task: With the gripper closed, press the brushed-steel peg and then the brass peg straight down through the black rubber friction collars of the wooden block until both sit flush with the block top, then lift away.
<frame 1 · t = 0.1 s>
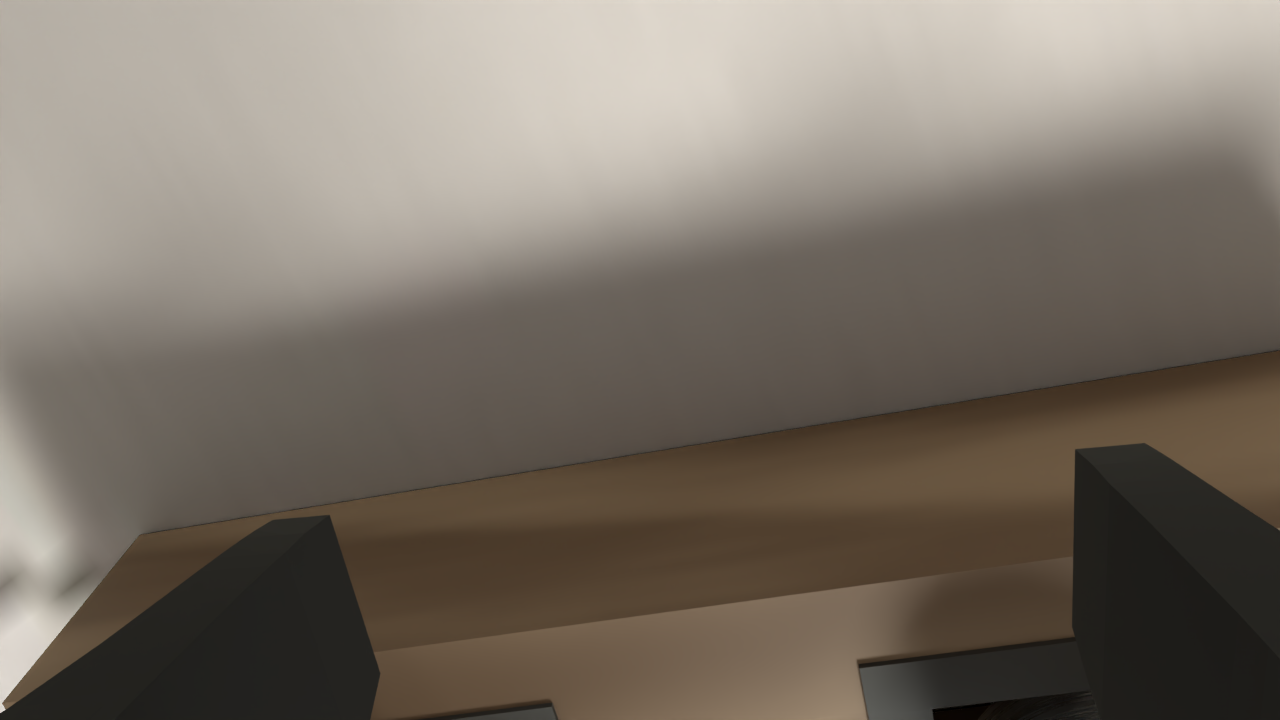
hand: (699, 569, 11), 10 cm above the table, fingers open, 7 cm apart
wooden block: (741, 644, 24), on the table
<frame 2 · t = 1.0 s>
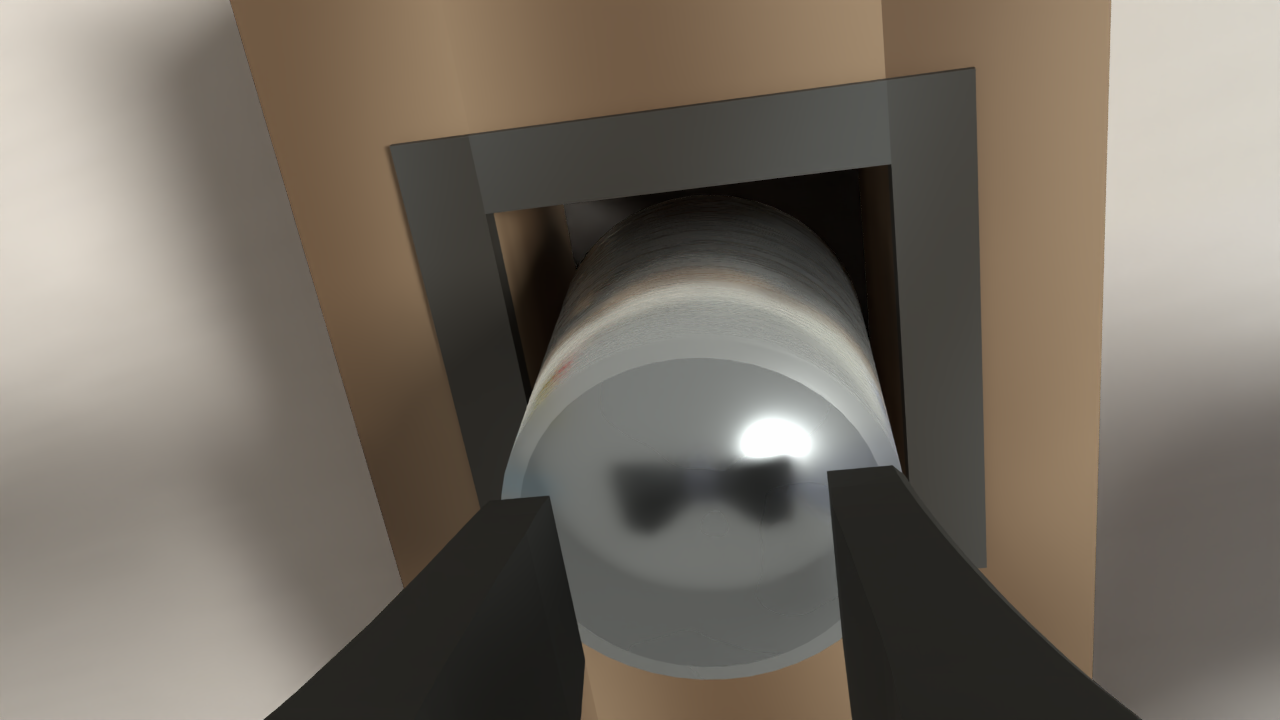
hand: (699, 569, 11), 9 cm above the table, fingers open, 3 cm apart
steel peg: (706, 418, 14), point 6 cm above the table, slide at 3.5 cm
wooden block: (752, 528, 22), on the table
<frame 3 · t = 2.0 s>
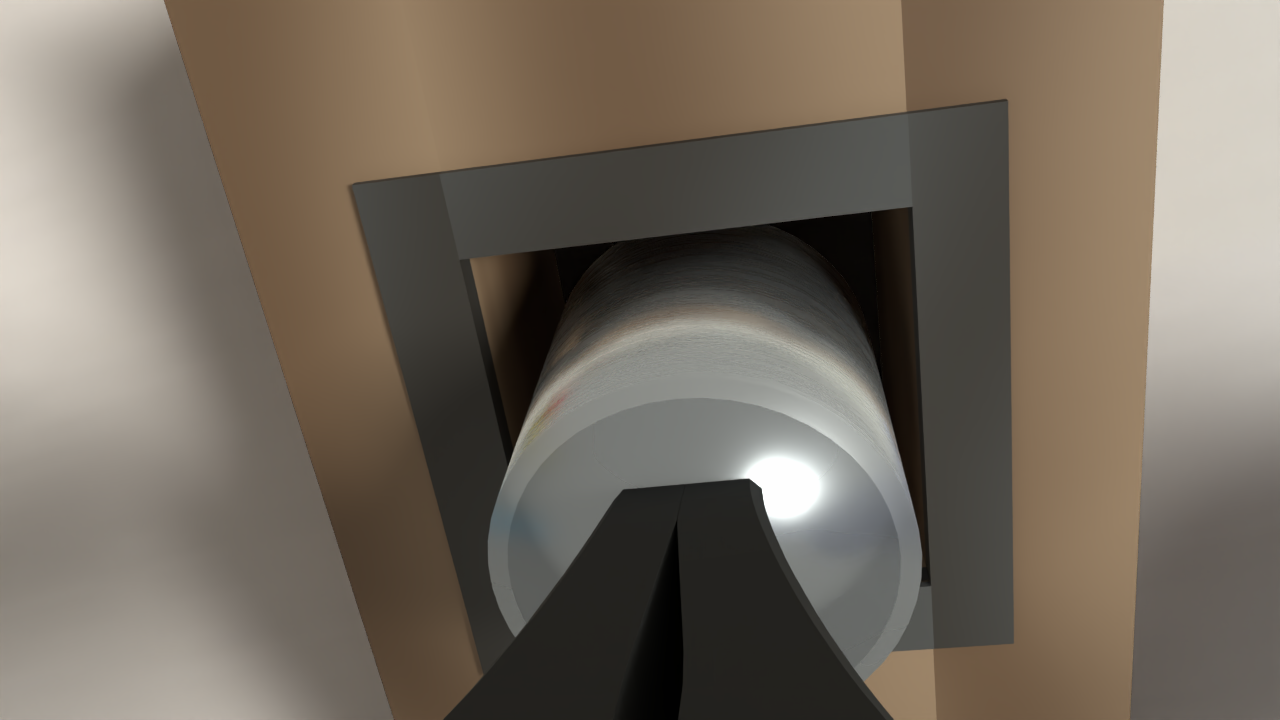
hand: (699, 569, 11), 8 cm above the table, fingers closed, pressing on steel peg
steel peg: (707, 452, 13), point 6 cm above the table, slide at 2.7 cm, touching gripper
wooden block: (755, 578, 20), on the table
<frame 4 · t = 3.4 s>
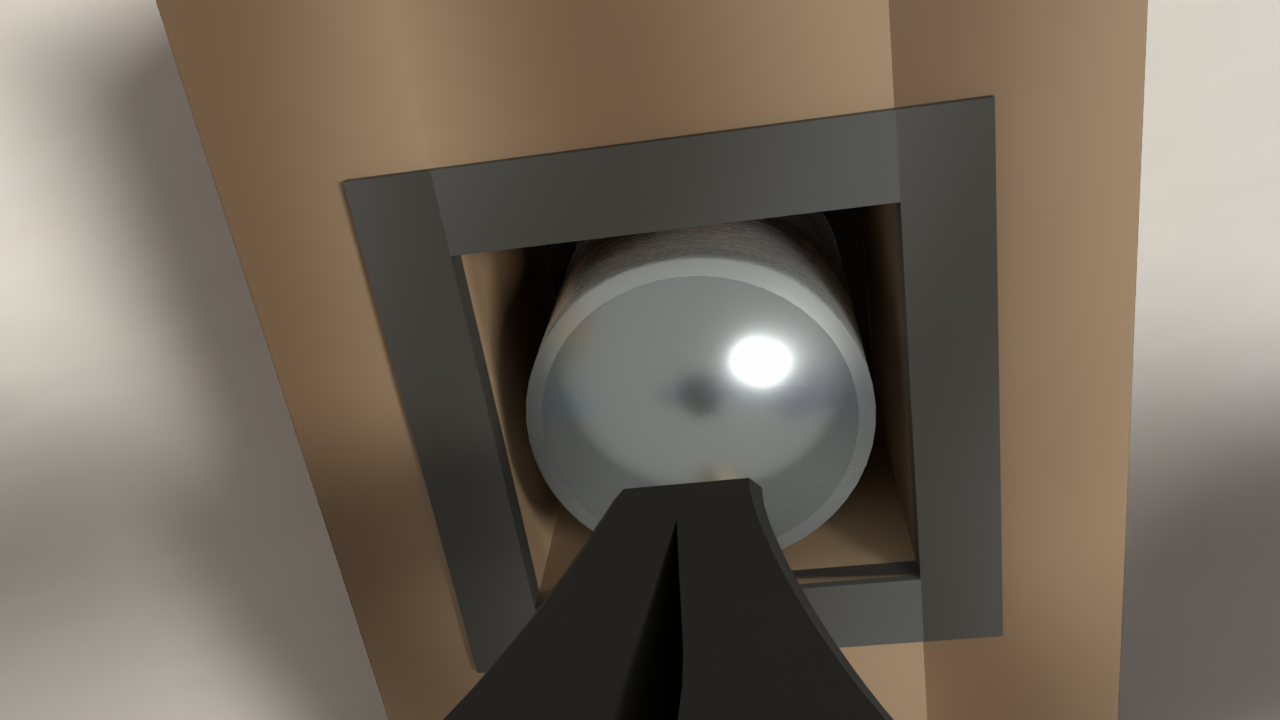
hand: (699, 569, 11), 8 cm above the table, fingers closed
steel peg: (702, 343, 16), point 3 cm above the table, slide at -0.1 cm
wooden block: (746, 573, 21), on the table
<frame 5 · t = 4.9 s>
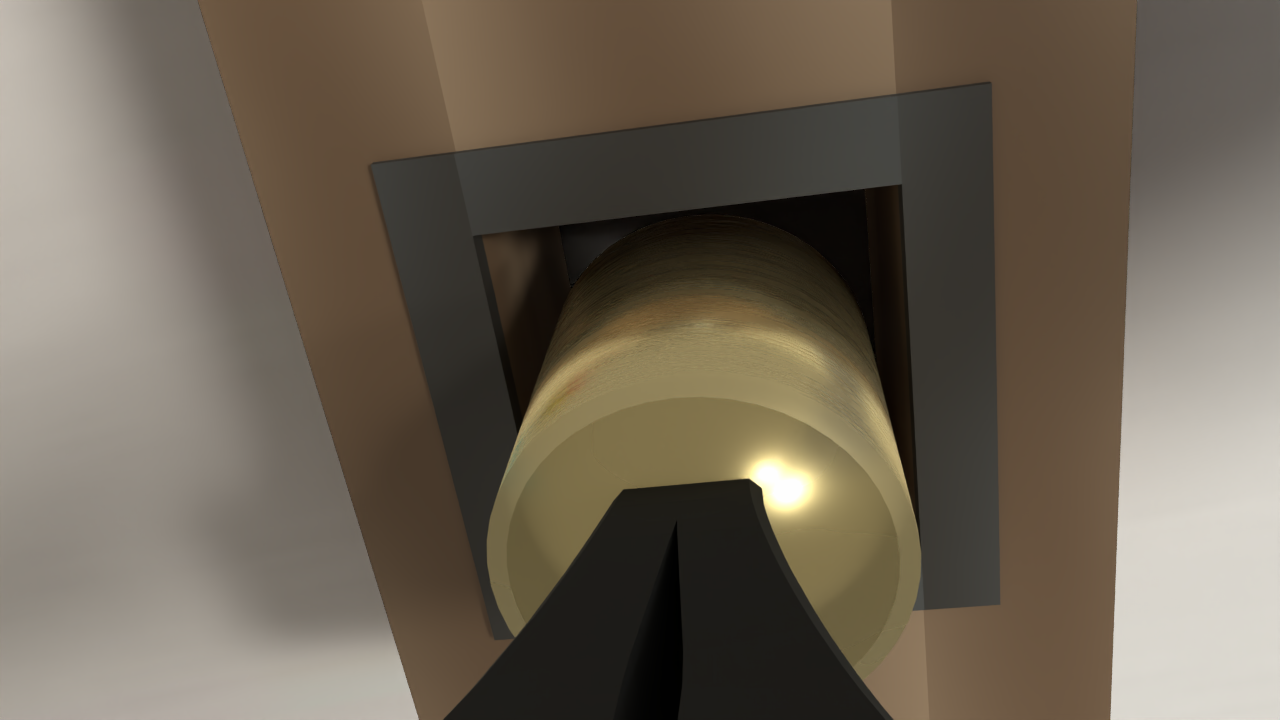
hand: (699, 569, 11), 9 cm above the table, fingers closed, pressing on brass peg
brass peg: (706, 451, 13), point 6 cm above the table, slide at 3.5 cm, touching gripper
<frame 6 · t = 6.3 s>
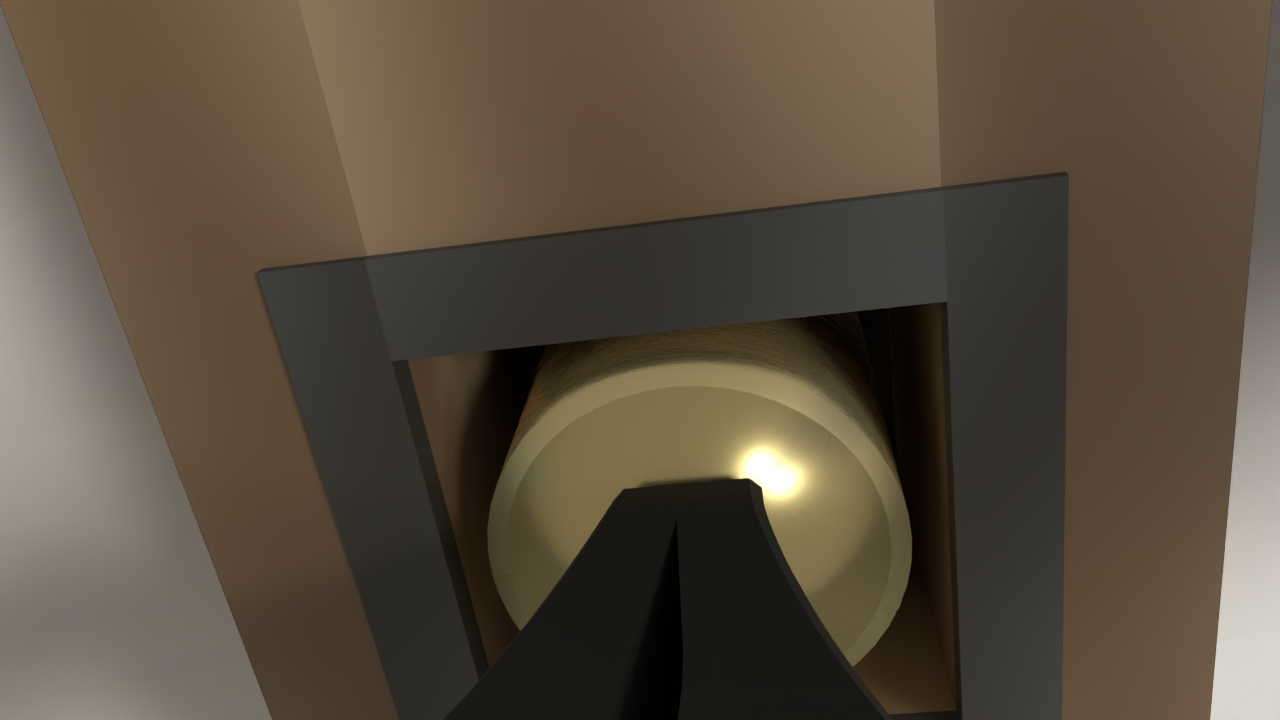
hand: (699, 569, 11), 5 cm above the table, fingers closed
brass peg: (702, 442, 13), point 3 cm above the table, slide at -0.1 cm
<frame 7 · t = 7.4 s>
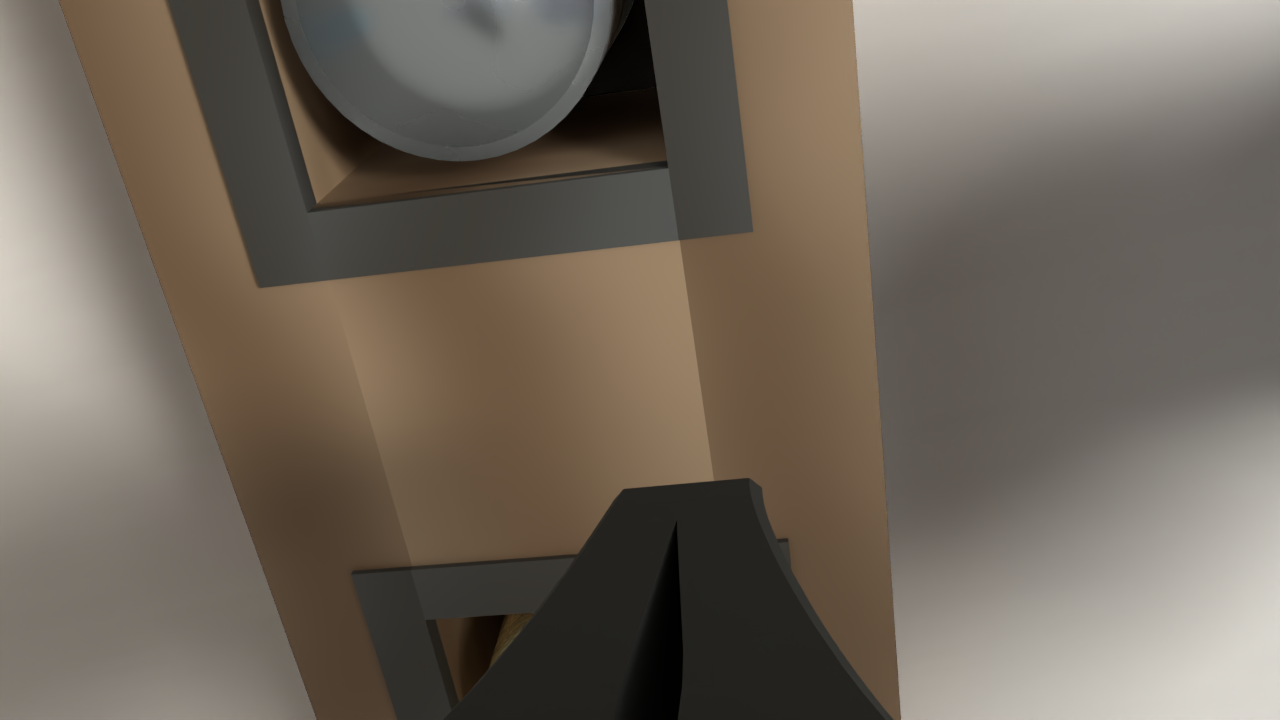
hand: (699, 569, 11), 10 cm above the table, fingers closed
wooden block: (579, 287, 21), on the table
brass peg: (614, 636, 21), point 3 cm above the table, slide at -0.1 cm
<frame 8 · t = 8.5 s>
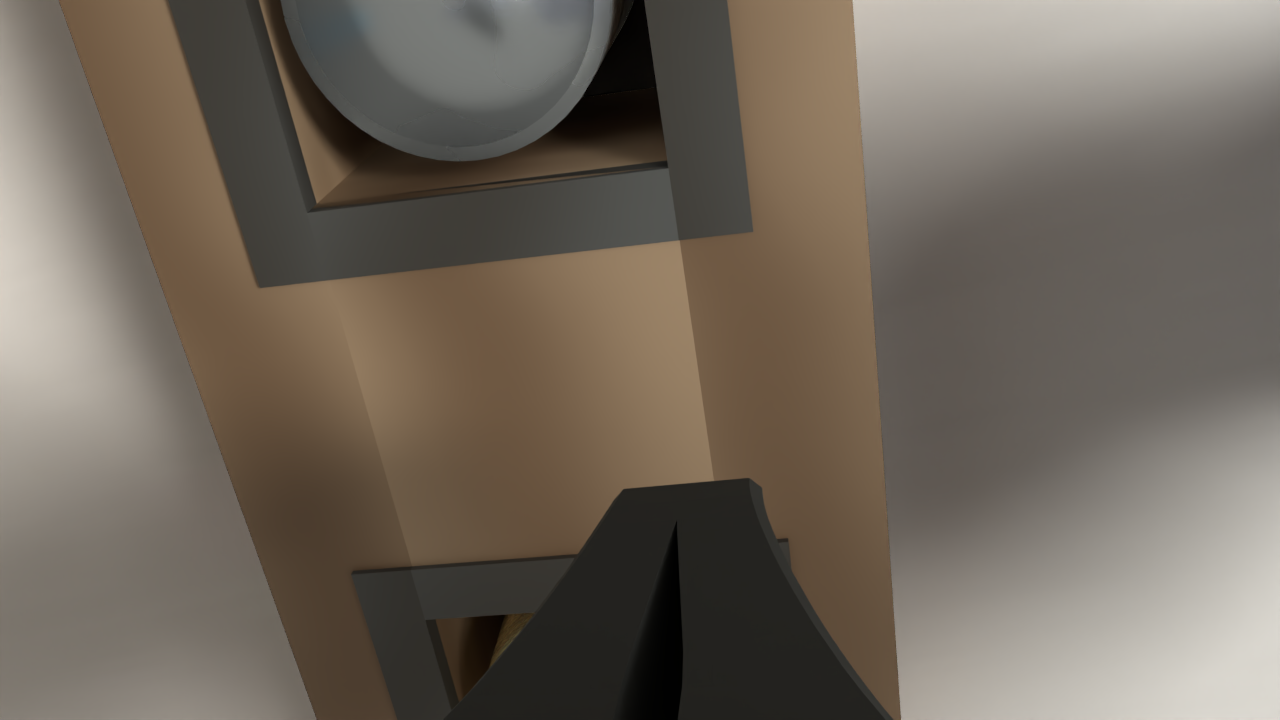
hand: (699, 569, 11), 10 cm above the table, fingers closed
wooden block: (579, 287, 21), on the table
brass peg: (614, 636, 21), point 3 cm above the table, slide at -0.1 cm
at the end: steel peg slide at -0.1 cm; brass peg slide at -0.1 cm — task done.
